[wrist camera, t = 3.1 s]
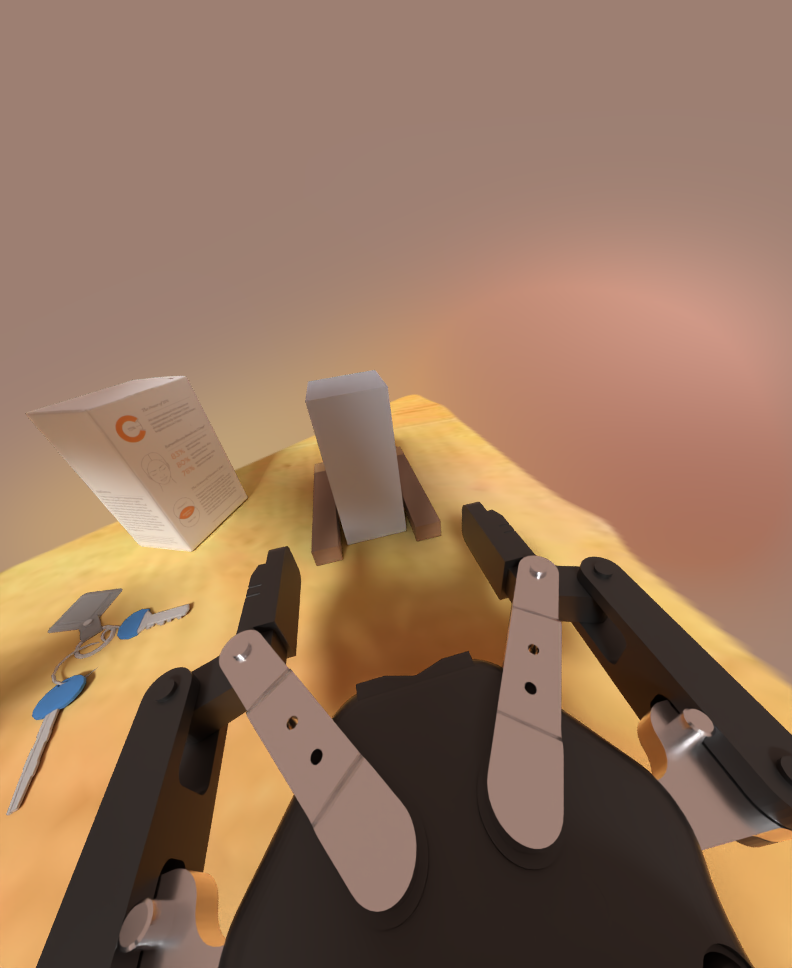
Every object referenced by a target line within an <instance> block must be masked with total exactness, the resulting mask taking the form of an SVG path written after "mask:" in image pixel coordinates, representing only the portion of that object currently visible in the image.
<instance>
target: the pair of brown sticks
mask: <svg viewBox="0 0 792 968" xmlns="http://www.w3.org/2000/svg"><path fill="white" fill-rule="evenodd" d="M396 454H397V462H398V469H399V477H400V485H401V492H402V500H403V507H404V510H405V512H406V514H407V517H408V519H409V522H410V524H411V527H412V529H413V532H414V534H415V537H416V539H417V541H420V540H424V539H428V538H433V537H437V536H441V522H440V520H439V518H438V516H437V514H436V512H435V510H434V508H433V507H432V505H431V503H430V501H429V499H428V497H427V496H426V494H425V492H424V490H423V488H422V486H421V484H420V483H419V481H418V479H417V477H416V475H415V473H414V472H413V470H412V468H411V466H410V464H409V462H408V460H407V459H406V457H405V455H404V453H403V451H402V449H401V448H400V447H396ZM311 553H312V555H313V558H314V560H315V563H316V565H317V566H319V565H323V564H327V563H331V562H335V561H339V560H343V557H342V545H341V533H340V522H339V514H338V510H337V507H336V504H335V500H334V497H333V493H332V490H331V487H330V483H329V480H328V476H327V473H326V470H325V466H324V463H318V464H315V469H314V496H313V524H312V551H311Z"/></svg>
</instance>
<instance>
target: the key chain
mask: <svg viewBox="0 0 792 968" xmlns="http://www.w3.org/2000/svg"><path fill="white" fill-rule="evenodd" d="M121 592H122V589H121V588H120V589H113V590H105V591H97V592H89V593H86V594H84V595H82V596H81V597H80V598H79V599H78V600H77V601H76V602H75V603H74V604H73V605H72V606H71V607H70V608H69V609H68V610H67V611H66V612H65V613H64V614H63V615H62V617H61V618H60V619H59V620H58V621H57V622H56V623H55V624H54V625H53V626H52V627H51V628H50V629H49V630H48V633H53V632H61V631H69V630H77V629H79V631H80V640H81V641H80V643H79V644H78V645H77V646H76V649H75V651H74V652H73V653H71V654H69V655H68V656H66V657H65V658H64V659H63V660H62V661H61V662H60V663H59V664H58V665H57V666H56V668H55V670H54V672H53V674H52V681H53V683H55V684H58V685H56V686H55V687H54V688H53V689H51V690H50V691H49V692H48V693H47V694H46V695H45V696H44V697H43V698H42V699H41V700H40V701H39V702H38V704H37V705H36V707H35V709H34V710H33V714H32V717H33V718H34V719H36V720H40V719H44V720H43V723H42V725H41V727H40V730H39V732H38V734H37V737H36V738H37V739H36V741H35V744H34V746H33V748H32V749H31V751H30V753H29V756H28V758H27V760H26V763H25V765H24V768H23V772H22V775H21V777H20V779H19V782H18V784H17V787H16V790H15V792H14V795H13V798H12V800H11V803H10V806H9V808H8V811H7V814H6V815H10V814H12V813H13V812H14V811H17V810H18V809H19V807H20V805H21V803H22V800H23V798H24V796H25V793H26V791H27V789H28V787H29V784H30V782H31V780H32V778H33V776H34V775H35V773H36V770H37V768H38V765H39V763H40V761H39V760H40V758H41V755H42V753H43V750H44V748H45V745H46V743H47V741H48V740H49V738H50V735H51V732H52V728H53V725H54V723H55V720H56V717H57V715H58V712H59V710H60V709H62V708H64V707H66V706H67V705H68V704H69V703H71V702H72V701H73V700H74V699H75V698H76V697H77V696H78V695H79V693H80V692H81V691H82V689H83V688H84V686H85V684H86V677H88V676H89V675H90V674H91V673H92V672H93V671H94V670H93V671H92V672H90V673H89V674H88V675H86V676H82V675H75V676H72V677H70V678H68V679H66V680H64V681H62V682H60V681H57V680H56V677H55V673H56V671H57V669H58V668H59V666H60V665H61V664H62V663H63V662H64V661H65V660H66V659H67V658H68V657H70V656H71V655H73V654H74V655H75V658H79V659H83V658H86V657H89V656H91V655H93V654H95V653H97V652H98V651H100V650H101V649H102V648H104V647H105V646H106V645H107V644H108V643H109V642H110V641H111V640H112V638H113V637H114V636H115V633H116V628H118V629H119V630H118V634H117V636H118V637H119V638H120V639H130V638H132V637H134V636H137V635H138V634H139V633H140V632H141V631H143V630H144V629H145V628H146V629H150V628H151V627H153V626H154V625H155V624H156V623H157V625H160V626H161V625H164V623H165V621H167V622H170V621H172V619H174V618H177V617H178V618H177V619H181V618H182V616H184V615H186V614H187V612H188V611H189V609H190V606H189V604H187V605H183V606H180V607H176V608H173V609H169V610H166V611H162V612H159V613H155V614H152V613H151V612H150V609H141V610H139V611H137V612H135V613H133V614H132V615H131V616H129V617H128V618H127V619H126V620H125V621H124V622H123V623H122V625H121V626H112V625H106V626H101V621H100V616H101V615H102V614H103V613H104V612H105V610H106V609H107V608H108V607H109V606H110V605H111V603H112V602H113V601H114V600H115V599H116V598H117V596H118V595H119V594H120V593H121ZM103 629H106V630H105V631H104V632H103V633H102V635H101V640H102V641H103V642H104V641H105V642H104V643H103V644H102V645H101V646H100V647H99V648H97V649H95V650H94V651H92V652H90V653H87V654H80V653H79V650H81V649H83V648H85V647H88V646H90V645H94V644H97V643H99V642H96V643H91V644H88V645H86V646H83V647H81V648H80V646H81V645H82V644H83V642H85V641H87V640H88V639H90V638H92V637H93V636H95V635H96V634H98V633H100V632H101V631H103ZM108 630H110V631H111V633H110V636H109V637H108V639H107V640H105V638H104V635H105V633H106V632H107V631H108ZM97 668H98V667H97Z"/></svg>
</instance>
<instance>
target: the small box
mask: <svg viewBox="0 0 792 968" xmlns="http://www.w3.org/2000/svg"><path fill="white" fill-rule="evenodd" d="M25 414H26V415H27V416H28V418H29V419H30V420H31V421H32V422H33V424H34V425H35V426H36V427H37V428H38V429H39V431H40V432H41V433H42V434H43V435H44V436H45V437H46V438H47V440H48V441H49V442H50V443H51V444H52V445H53V446H54V448H55V449H56V450H57V451H58V452H59V453H60V455H61V456H62V457H63V458H64V459H65V460H66V461H67V463H68V464H69V465H70V466H71V467H72V468H73V469H74V471H75V472H76V473H77V474H78V475H79V476H80V478H81V479H82V480H83V481H84V482H85V483H86V484H87V486H88V487H89V488H90V489H91V490H92V492H93V493H94V494H95V495H96V496H97V497H98V498H99V499H100V501H101V502H102V503H103V504H104V505H105V507H106V508H107V509H108V510H109V511H110V512H111V513H112V514H113V516H114V517H115V518H116V519H117V520H118V521H119V522H120V524H121V525H122V526H123V527H124V528H125V529H126V530H127V532H128V533H129V534H130V535H131V536H132V537H133V539H134V540H135V541H136V542H137V543H138V544H139V545H140V546H143V547H153V548H162V549H171V550H179V551H191V552H192V551H193V550H194V549H195V548H196V547H197V546H198V545H199V544H200V543H201V542H202V541H203V540H204V539H205V538H206V537H207V536H209V535H210V534H211V533H212V532H213V531H214V530H215V529H216V528H217V527H218V526H219V525H220V524H221V523H222V522H223V521H224V520H225V519H226V518H227V517H228V516H229V515H230V514H231V513H232V512H233V511H234V510H235V509H236V508H237V507H238V506H240V505H241V504H242V503H243V502H244V501H245V500H246V499H247V498H248V496H247V495H246V493H245V491H244V489H243V487H242V485H241V483H240V481H239V479H238V477H237V475H236V473H235V471H234V469H233V467H232V465H231V463H230V461H229V459H228V457H227V456H226V453H225V451H224V449H223V448H222V445H221V443H220V441H219V440H218V437H217V435H216V433H215V431H214V430H213V427H212V426H211V424H210V422H209V420H208V418H207V416H206V414H205V412H204V410H203V408H202V406H201V404H200V402H199V400H198V398H197V396H196V394H195V392H194V390H193V388H192V386H191V384H190V382H189V380H188V378H187V377H186V376H169V377H156V378H147V379H138V380H131V381H128V382H125V383H122V384H118V385H115V386H112V387H108V388H105V389H102V390H99V391H95V392H92V393H89V394H85V395H82V396H79V397H76V398H73V399H69V400H66V401H63V402H59V403H56V404H53V405H49V406H46V407H43V408H40V409H36V410H33V411H29V412H26V413H25Z"/></svg>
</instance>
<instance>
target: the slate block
mask: <svg viewBox="0 0 792 968" xmlns="http://www.w3.org/2000/svg"><path fill="white" fill-rule="evenodd" d="M305 402H306V405H307V409H308V412H309V415H310V419H311V422H312V426H313V429H314V432H315V436H316V439H317V443H318V446H319V449H320V453H321V456H322V459H323V463H324V466H325V470H326V473H327V476H328V480H329V483H330V487H331V490H332V493H333V497H334V500H335V504H336V507H337V510H338V514H339V517H340V520H341V524H342V527H343V531H344V534H345V537H346V541H347V544H348V545H350V544H354V543H358V542H362V541H366V540H371V539H375V538H379V537H383V536H387V535H391V534H395V533H399V532H404V531H407V530H406V522H405V515H404V507H403V500H402V492H401V485H400V477H399V469H398V462H397V454H396V447H395V439H394V432H393V424H392V417H391V409H390V402H389V395H388V387H387V385H386V384H385V383H384V381H383V380H382V379H381V378H380V376H379V375H378V373H377V372H376V371H375V370H372V371H367V372H361V373H355V374H349V375H344V376H338V377H332V378H327V379H321V380H315V381H309V382H308V387H307V394H306V400H305Z"/></svg>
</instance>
